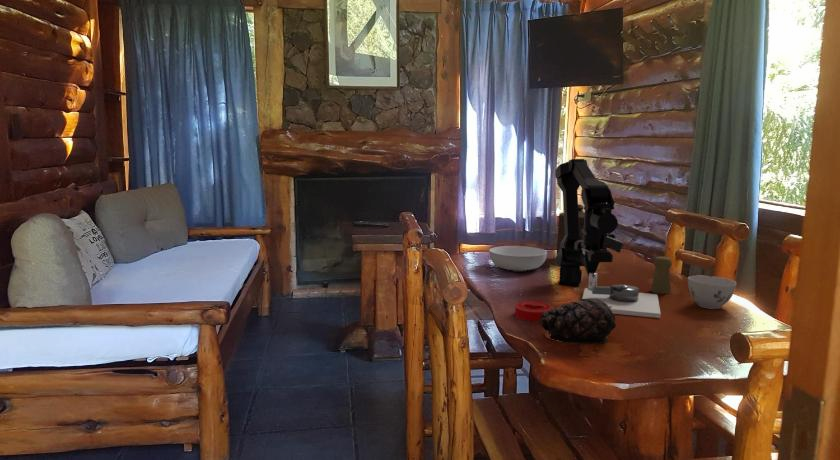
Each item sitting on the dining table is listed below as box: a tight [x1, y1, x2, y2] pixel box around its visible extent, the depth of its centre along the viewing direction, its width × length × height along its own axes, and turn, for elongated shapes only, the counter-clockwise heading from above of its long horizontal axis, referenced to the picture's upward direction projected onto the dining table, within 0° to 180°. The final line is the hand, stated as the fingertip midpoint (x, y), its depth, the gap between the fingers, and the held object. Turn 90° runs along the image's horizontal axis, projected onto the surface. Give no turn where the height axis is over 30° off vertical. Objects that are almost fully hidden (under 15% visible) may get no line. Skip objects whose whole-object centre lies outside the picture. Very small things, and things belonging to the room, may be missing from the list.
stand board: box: [581, 287, 661, 319], centre depth 175 cm, size 21×21×2 cm
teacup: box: [687, 274, 737, 310], centre depth 174 cm, size 15×12×8 cm
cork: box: [650, 256, 673, 295], centre depth 189 cm, size 6×6×11 cm
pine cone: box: [538, 298, 617, 345], centre depth 144 cm, size 10×18×10 cm, turn 94°
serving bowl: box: [488, 245, 548, 272], centre depth 220 cm, size 21×21×7 cm
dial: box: [587, 272, 640, 302], centre depth 176 cm, size 14×8×7 cm, turn 81°
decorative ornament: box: [514, 300, 553, 322], centre depth 163 cm, size 10×10×3 cm
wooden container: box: [556, 203, 585, 254], centre depth 233 cm, size 15×15×22 cm
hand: (591, 278), depth 179 cm, fingers closed
